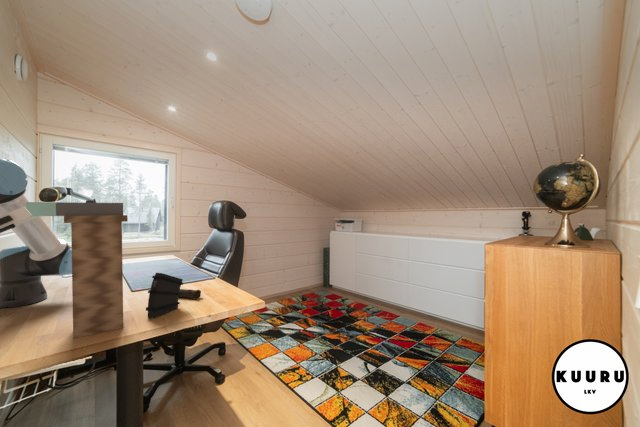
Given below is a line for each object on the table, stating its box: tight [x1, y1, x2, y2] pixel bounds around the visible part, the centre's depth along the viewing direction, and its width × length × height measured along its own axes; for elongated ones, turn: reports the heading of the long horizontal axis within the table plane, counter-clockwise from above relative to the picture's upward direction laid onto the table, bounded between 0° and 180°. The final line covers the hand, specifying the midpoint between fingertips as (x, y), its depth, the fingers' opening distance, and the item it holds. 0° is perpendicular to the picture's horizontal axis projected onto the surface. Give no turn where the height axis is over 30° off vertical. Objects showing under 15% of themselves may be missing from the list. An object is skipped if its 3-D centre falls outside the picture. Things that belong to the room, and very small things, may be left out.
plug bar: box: [26, 201, 124, 217], centre depth 85 cm, size 22×4×4 cm, turn 127°
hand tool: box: [178, 288, 202, 300], centre depth 119 cm, size 19×4×5 cm, turn 73°
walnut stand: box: [63, 214, 129, 339], centre depth 88 cm, size 15×10×36 cm, turn 127°
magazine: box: [145, 272, 184, 319], centre depth 101 cm, size 4×13×15 cm, turn 162°
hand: (34, 210), depth 79 cm, fingers open, 13 cm apart
